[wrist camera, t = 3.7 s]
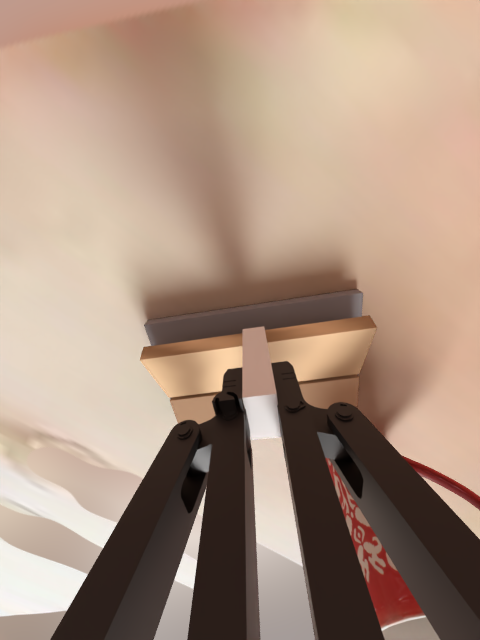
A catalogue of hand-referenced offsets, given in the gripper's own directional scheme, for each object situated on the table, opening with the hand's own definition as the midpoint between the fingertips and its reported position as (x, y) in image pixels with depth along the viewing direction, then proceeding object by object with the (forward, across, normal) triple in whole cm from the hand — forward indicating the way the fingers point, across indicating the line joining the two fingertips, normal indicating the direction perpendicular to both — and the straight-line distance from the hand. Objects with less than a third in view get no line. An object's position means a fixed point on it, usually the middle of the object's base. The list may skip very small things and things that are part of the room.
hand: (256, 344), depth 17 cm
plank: (+2, 0, -2) cm, 3 cm away
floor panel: (+5, 0, -4) cm, 6 cm away
